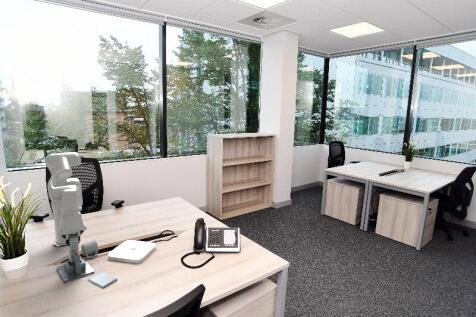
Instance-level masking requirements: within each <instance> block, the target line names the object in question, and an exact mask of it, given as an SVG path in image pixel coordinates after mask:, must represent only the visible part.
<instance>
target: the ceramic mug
mask: <svg viewBox="0 0 476 317" xmlns="http://www.w3.org/2000/svg"><path fill="white" fill-rule="evenodd" d="M80 250H81V254H82V257H87V259H93V258H96V256H97V255H98V253H99V245H98V243H97V241H96V240H95V239H94V240H92V241H88V242H85V243H83V244H82V245H80ZM90 255H91V256H90Z"/></svg>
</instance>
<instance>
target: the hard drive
mask: <svg viewBox="0 0 476 317" xmlns="http://www.w3.org/2000/svg"><path fill="white" fill-rule="evenodd" d="M87 281H88V282H91V283H92V284H93V285H96V286H97V287H100V288H102V289H105V288H106V287H109V286H110V285H112V284H113V283H116V281H118V278H116V277H115V276H112V275H110V274H108V273H106V272H104V271H101V272H98V273H97V274H95V275H93V276H91V277H89V278H88V280H87Z"/></svg>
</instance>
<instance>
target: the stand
mask: <svg viewBox="0 0 476 317" xmlns="http://www.w3.org/2000/svg"><path fill="white" fill-rule="evenodd" d="M73 256H74V259H75V262H73V263H71V262H70V260H69V259H68V260H66V261H63V264H62V265H59V266H58V265H57V266H56V270H57V272H58V273H59V276H60V278H61V279H62V281H63V282H64V283H63V284H66V283H69V282H72V281H75V280H78V279H80V278H83V277H86V276H89V275H92V274H95V270H94V269H93V267H91V266H90V264H89V262H88V261H87V260H86V259H85V258H82V256H81V253H80V252H79V253H76V254H73Z"/></svg>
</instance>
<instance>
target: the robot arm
mask: <svg viewBox="0 0 476 317" xmlns="http://www.w3.org/2000/svg"><path fill="white" fill-rule="evenodd" d="M44 158H45V159H44V161H45V164H46V167H47V169H48V170H49V172H50V175H51V176H50V178H49V180H48V183H47V191H48V193H47V194H48V198H49V199H50V200H51V201H50V206H51V209H52V215H53V221H54V222H53V223H54V234H55V240H56V243H54V244H55V245H56V244H57V245H66V246H67V247H68V246H70V241H69V238H68V237H69V234H70V233H74V232H77V234H78V236H79V237H78V244H80V242H81V236H82V235H83V233H84V232H85V231H86V230H87V229H88V228H87V227H86V226H85V225H84V221H83V216H82V213H81V211H83V207H82V206H83V194H82V183H81V181H80V179H79V178H75V177H74V178H70V177H72V176H73V171H72V170H73V169H72V167H79V166H81V162H82V158H81V155H80V154H79V153H78V152H60V153H59V152H58V153H51V154H48V155H46V156H45V157H44Z"/></svg>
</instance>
